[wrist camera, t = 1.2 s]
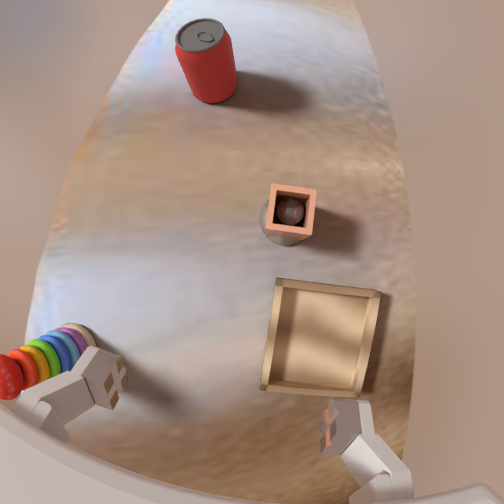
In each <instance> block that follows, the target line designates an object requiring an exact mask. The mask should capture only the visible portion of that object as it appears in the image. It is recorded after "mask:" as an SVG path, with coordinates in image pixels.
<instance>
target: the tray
mask: <svg viewBox="0 0 504 504" xmlns="http://www.w3.org/2000/svg"><path fill="white" fill-rule="evenodd" d="M380 296H381V291H377V290H373V289H364V288H356V287H348V286H339V285H331V284H323V283H315V282H307V281H300V280H292V279H284V278H277V277H276V281H275V288H274V295H273V302H272V309H271V316H270V322H269V329H268V336H267V342H266V349H265V355H264V361H263V368H262V374H261V380H260V390H264V391H273V392H282V393H293V394H304V395H318V396H337V397H360V393H361V389H362V385H363V381H364V377H365V373H366V369H367V365H368V360H369V356H370V351H371V346H372V341H373V336H374V331H375V326H376V320H377V315H378V309H379V302H380Z"/></svg>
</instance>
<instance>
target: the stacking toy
mask: <svg viewBox="0 0 504 504" xmlns="http://www.w3.org/2000/svg"><path fill="white" fill-rule="evenodd" d="M90 345H92V346H95V347H96V344H95V341H94V339H93V338H92V336H91V335H90V333H89V332H88V331H87V330H86V329H85V328H83V327H82V326H80V325H78V324H75V323H67V324H64V325H62V326H61V327H60V328H58V329H55V330H54V331H50V332H48V333H46V334H45V335H43V336H41V337H39V338H38V339H35V340H32V341H30V342H29V343H28V344H27V345H24V346H22V347H21V348H20V349H15V350H12V351H11V352H10V353H9V354H8V356H6V355H2V354H0V399H3V400H11V399H14V398H16V397H17V396H18V395H19V394H20V393H21V391H22V390H24V391H25V390H26V389H28V388H30V387H32V386H35V385H37V384H39V383H41V382H44V381H46V380H48V379H50V378H53V377H55V376H57V375H59V374H61V373H64V372H66V371H70V372H71V370H72V369H73V367H74V366H75V364H76V363H77V361H78V360H79V359H80V357H81V356H82V354H83V353H84V351H85V350H86V349H87V347H89V346H90Z"/></svg>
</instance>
